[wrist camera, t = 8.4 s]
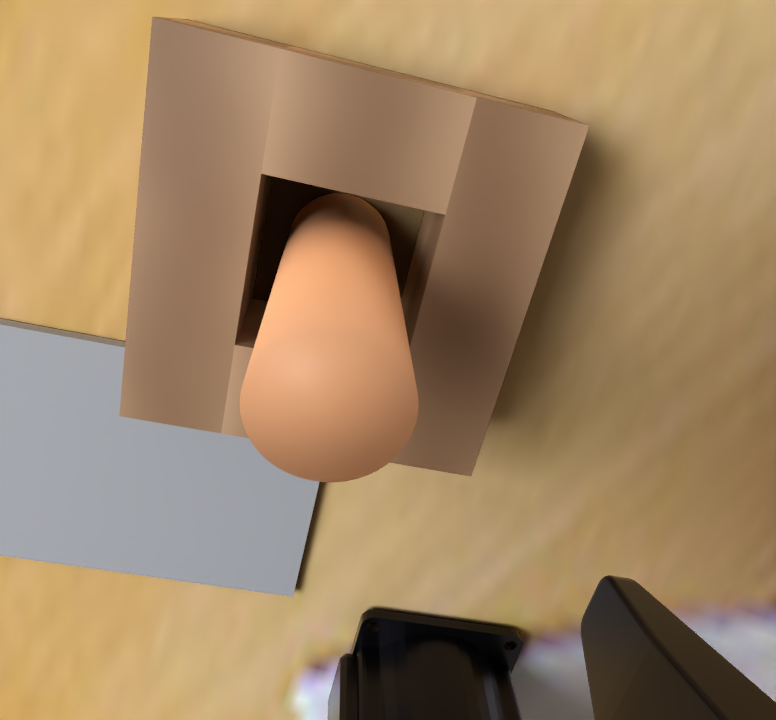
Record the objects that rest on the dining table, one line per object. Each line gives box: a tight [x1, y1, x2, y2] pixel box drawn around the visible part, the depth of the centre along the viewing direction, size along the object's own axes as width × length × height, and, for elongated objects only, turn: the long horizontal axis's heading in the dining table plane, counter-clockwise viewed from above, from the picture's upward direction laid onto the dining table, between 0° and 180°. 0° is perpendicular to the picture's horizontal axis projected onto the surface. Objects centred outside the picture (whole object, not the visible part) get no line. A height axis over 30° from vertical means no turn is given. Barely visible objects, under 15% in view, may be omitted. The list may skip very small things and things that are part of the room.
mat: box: [0, 318, 319, 597], centre depth 23 cm, size 12×9×1 cm
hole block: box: [119, 17, 589, 476], centre depth 19 cm, size 10×10×4 cm
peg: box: [240, 193, 419, 482], centre depth 16 cm, size 3×3×10 cm
